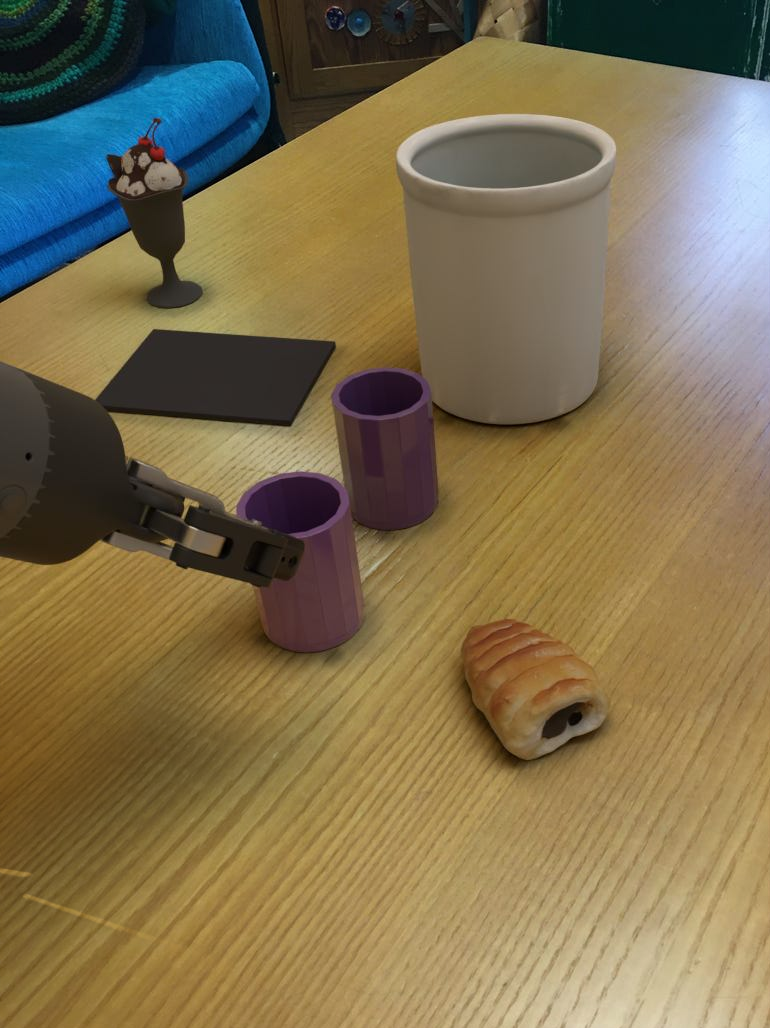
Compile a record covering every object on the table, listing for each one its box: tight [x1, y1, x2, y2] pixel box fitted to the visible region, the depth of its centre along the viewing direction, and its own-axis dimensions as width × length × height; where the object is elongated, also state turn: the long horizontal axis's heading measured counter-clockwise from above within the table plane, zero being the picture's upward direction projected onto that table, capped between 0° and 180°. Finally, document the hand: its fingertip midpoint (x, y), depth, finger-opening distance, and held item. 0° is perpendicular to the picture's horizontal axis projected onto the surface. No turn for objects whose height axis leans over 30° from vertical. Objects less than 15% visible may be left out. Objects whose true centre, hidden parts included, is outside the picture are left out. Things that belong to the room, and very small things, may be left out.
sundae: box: [105, 117, 203, 309], centre depth 93 cm, size 7×7×15 cm
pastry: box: [460, 618, 611, 761], centre depth 60 cm, size 9×7×4 cm
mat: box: [94, 328, 337, 427], centre depth 87 cm, size 16×12×1 cm
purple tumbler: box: [330, 366, 439, 531], centre depth 72 cm, size 6×6×8 cm
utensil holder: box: [395, 113, 617, 425], centre depth 80 cm, size 15×15×18 cm
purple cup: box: [235, 471, 366, 653], centre depth 64 cm, size 6×6×8 cm
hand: (233, 531), depth 58 cm, fingers open, 8 cm apart
